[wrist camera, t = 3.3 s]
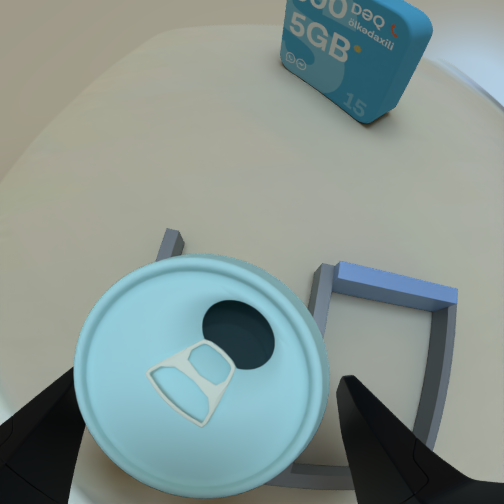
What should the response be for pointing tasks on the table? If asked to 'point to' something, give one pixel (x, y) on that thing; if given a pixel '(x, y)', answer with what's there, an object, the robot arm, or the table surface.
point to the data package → (355, 50)
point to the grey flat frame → (384, 290)
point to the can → (201, 375)
